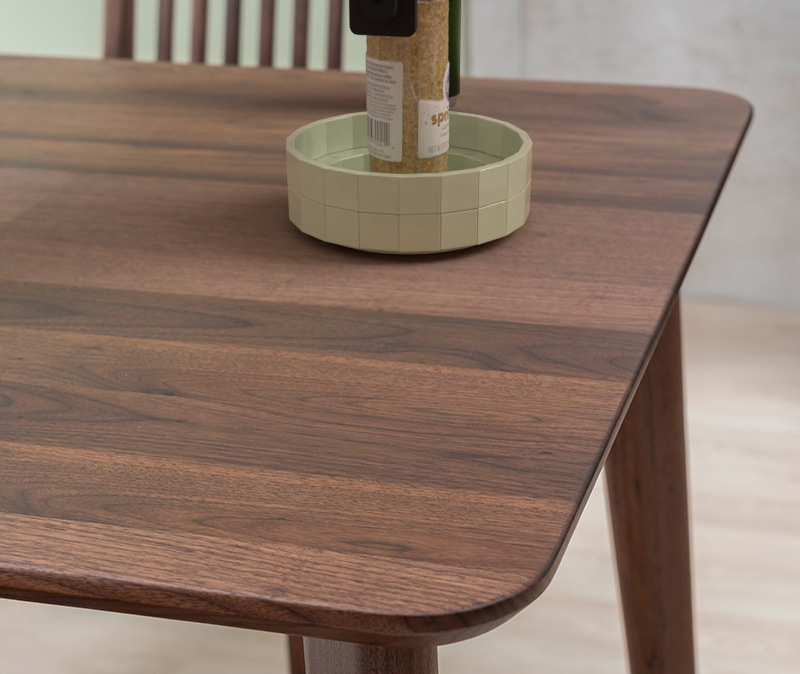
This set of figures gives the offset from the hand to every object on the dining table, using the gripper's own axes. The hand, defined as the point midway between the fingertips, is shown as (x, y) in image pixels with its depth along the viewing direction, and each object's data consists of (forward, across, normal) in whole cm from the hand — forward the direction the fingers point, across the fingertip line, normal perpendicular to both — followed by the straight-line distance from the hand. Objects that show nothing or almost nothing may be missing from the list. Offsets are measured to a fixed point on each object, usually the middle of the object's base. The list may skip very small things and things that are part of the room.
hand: (407, 16), depth 64 cm
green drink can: (+11, -26, -5) cm, 29 cm away
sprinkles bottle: (+10, 0, 0) cm, 11 cm away
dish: (+11, 0, 0) cm, 11 cm away
